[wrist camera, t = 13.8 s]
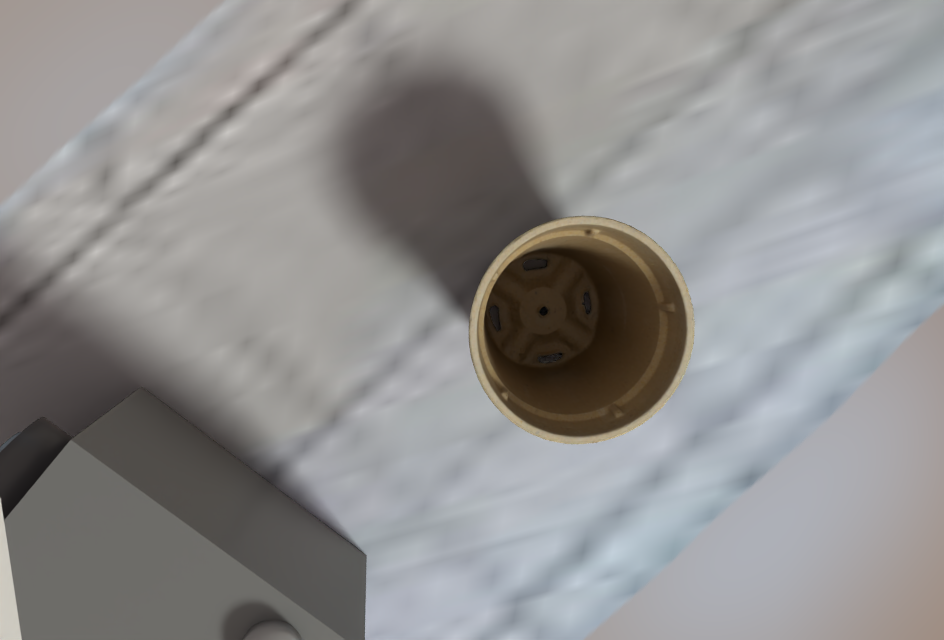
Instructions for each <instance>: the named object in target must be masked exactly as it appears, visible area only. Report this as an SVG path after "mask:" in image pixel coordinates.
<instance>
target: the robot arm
mask: <svg viewBox="0 0 944 640" xmlns="http://www.w3.org/2000/svg"><path fill="white" fill-rule="evenodd" d="M0 640H22V638H21V631H20V625H19V618H18V611H17V605H16V598H15V591H14V585H13V578H12V571H11V564H10V558H9V551H8V544H7V538H6V531H5V524H4V518H3V511H2V504H1V498H0Z"/></svg>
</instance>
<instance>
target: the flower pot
mask: <svg viewBox="0 0 944 640" xmlns="http://www.w3.org/2000/svg"><path fill="white" fill-rule="evenodd" d="M540 259H543V260H546V261H547V266H546V267H545V268H539V269H531V270H528V271H526V270H525V269H524V266H523V264H524V262H526V261H527V260H540ZM586 292H588V293H589V297H590V303H591V310H590V313H589V314H587V313H586V309H585V305H584V304H582V302H583V303H584V294H585V293H586ZM494 305H495V306H496V307H498V309H499V321H500V325H501V329H500V330H498V331H496V327H495V326H494V324H493V322H492V318H491V314H490V308H491V307H493V306H494ZM543 307H546V308H547V310H548V312H547V314H546V315H544V316H543V315H541V314H540V313H539V311H540V310H541V308H543ZM694 326H695V321H694V313H693V307H692V303H691V298H690V295H689V292H688V288H687V286H686V283H685V281H684V279H683V276H682V274H681V273H680V271H679V269H678V268H677V266H676V264H675V263H674V262H673V261H672V259H671V258H670V256H669V255H668V254H667V253H666V252H665V251H664V250H663V249H662V247H660V246H659V245H658V244H657V243H656V242H655V241H654V240H652V239H651V238H650V237H649V236H647V235H646V234H644V233H642V232H641V231H639V230H637V229H635V228H634V227H632V226H629V225H627V224H625V223H622V222H619V221H616V220H612V219H608V218H602V217H595V216H575V217H566V218H561V219H556V220H552V221H549V222H546V223H544V224H541V225H539V226H536V227H534V228H532V229H530V230H528V231H527V232H525V233H524V234H522V235H520V236H519V237H517V238H516V239H515V240H513V241H512V242H511V243H510V244H509V245H507V246H506V247H505V248H504V249H503V250H502V251H501V252H500V253H499V255H498V256H497V257H496V258H495V259H494V260H493V262H492V263H491V264H490V266H489V267H488V269H487V271H486V272H485V274H484V276H483V277H482V279H481V282H480V284H479V286H478V289H477V291H476V294H475V297H474V300H473V304H472V308H471V313H470V320H469V346H470V353H471V358H472V362H473V365H474V368H475V371H476V374H477V377H478V379H479V381H480V383H481V385H482V387H483V389H484V391H485V393H486V394H487V395H488V397H489V399H490V400H491V401H492V402H493V404H494V405H495V406H496V407H497V408H498V409H499V410H500V412H501V413H502V414H503V415H505V416H506V417H507V418H508V419H509V420H510V421H511V422H513V423H514V424H516V425H517V426H518V427H520V428H522V429H523V430H525V431H527V432H529V433H531V434H533V435H535V436H538V437H540V438H543V439H545V440H549V441H554V442H559V443H565V444H586V443H597V442H600V441H605V440H608V439H612V438H615V437H617V436H620V435H622V434H625V433H627V432H629V431H631V430H633V429H635V428H636V427H638V426H640V425H641V424H643V423H644V422H645V421H647V420H648V419H649V418H651V417H652V416H653V415H654V414H655V413H657V412H658V411H659V410H660V409H661V408H662V407H663V406H664V405H665V403H666V402H667V401H668V400H669V398H670V397H671V396H672V394H673V393H674V392H675V390H676V389H677V387H678V385H679V383H680V382H681V380H682V378H683V376H684V374H685V372H686V369H687V366H688V364H689V360H690V357H691V352H692V349H693V344H694V342H693V341H694ZM556 353H561V354H562V358H561V359H559V360H557V361H556V362H550V363H541V362H539V361H538V357H540V356H547V355H552V354H556Z"/></svg>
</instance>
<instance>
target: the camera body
mask: <svg viewBox="0 0 944 640" xmlns="http://www.w3.org/2000/svg"><path fill="white" fill-rule="evenodd" d="M0 498H1V504H2V511H3V518H4V524H5V531H6V538H7V544H8V551H9V558H10V564H11V571H12V578H13V585H14V591H15V598H16V605H17V611H18V618H19V625H20V631H21V638H22V640H365V599H366V555H365V554H364V553H362V552H361V551H360V550H358V549H357V548H356V547H354V546H353V545H352V544H350V543H349V542H348V541H346V540H345V539H344V538H342V537H341V536H340V535H338V534H337V533H336V532H334V531H333V530H332V529H330V528H329V527H328V526H326V525H325V524H324V523H322V522H321V521H320V520H318V519H317V518H316V517H314V516H313V515H312V514H310V513H309V512H308V511H306V510H305V509H304V508H302V507H301V506H300V505H298V504H297V503H296V502H294V501H293V500H292V499H290V498H289V497H288V496H286V495H285V494H284V493H282V492H281V491H280V490H278V489H277V488H276V487H274V486H273V485H272V484H270V483H269V482H268V481H266V480H265V479H264V478H262V477H261V476H260V475H258V474H257V473H256V472H254V471H253V470H252V469H250V468H249V467H248V466H247V465H245V464H244V463H243V462H241V461H240V460H239V459H237V458H236V457H235V456H233V455H232V454H231V453H229V452H228V451H227V450H225V449H224V448H223V447H221V446H220V445H219V444H217V443H216V442H215V441H213V440H212V439H211V438H209V437H208V436H207V435H205V434H204V433H203V432H201V431H200V430H199V429H197V428H196V427H195V426H193V425H192V424H191V423H189V422H188V421H187V420H185V419H184V418H183V417H181V416H180V415H179V414H177V413H176V412H175V411H173V410H172V409H171V408H169V407H168V406H167V405H165V404H164V403H163V402H161V401H160V400H159V399H157V398H156V397H155V396H153V395H152V394H151V393H149V392H148V391H147V390H145V389H144V388H143V387H141V388H139V389H138V390H137V391H135V392H134V393H133V394H131V395H130V396H129V397H127V398H126V399H125V400H123V401H122V402H120V403H119V404H118V405H116V406H115V407H114V408H112V409H111V410H110V411H108V412H107V413H106V414H104V415H103V416H102V417H100V418H99V419H98V420H96V421H95V422H94V423H92V424H91V425H90V426H88V427H87V428H86V429H84V430H83V431H82V432H80V433H79V434H78V435H76V436H75V437H74V438H72V437H71V436H69V435H68V434H67V433H65V432H64V431H63V430H61V429H60V428H58V427H57V426H56V425H54V424H53V423H52V422H50V421H49V420H47V419H46V418H45V417H42V418H40V419H38V420H36V421H35V422H33V423H32V424H31V425H30V426H28V427H27V428H26V429H25V430H23V431H22V432H18V433H17V434H15V435H14V436H12V437H11V438H10V439H9V440H7V441H6V442H5V443H4V444H3V445H2V446H1V447H0Z"/></svg>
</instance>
